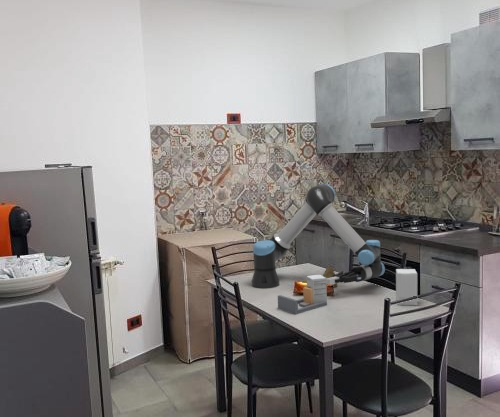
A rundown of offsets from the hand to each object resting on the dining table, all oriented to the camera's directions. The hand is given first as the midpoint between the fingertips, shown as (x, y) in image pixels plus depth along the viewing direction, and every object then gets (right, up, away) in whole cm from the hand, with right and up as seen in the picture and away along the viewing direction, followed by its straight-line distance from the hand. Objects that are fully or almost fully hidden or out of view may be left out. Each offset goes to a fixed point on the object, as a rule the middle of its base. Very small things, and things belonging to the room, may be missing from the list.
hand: (328, 281), depth 249 cm
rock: (+4, -6, +25) cm, 26 cm away
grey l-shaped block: (-13, -10, -9) cm, 18 cm away
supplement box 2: (+35, -8, -9) cm, 37 cm away
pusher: (-12, -10, -8) cm, 17 cm away
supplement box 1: (-6, -9, -4) cm, 12 cm away
